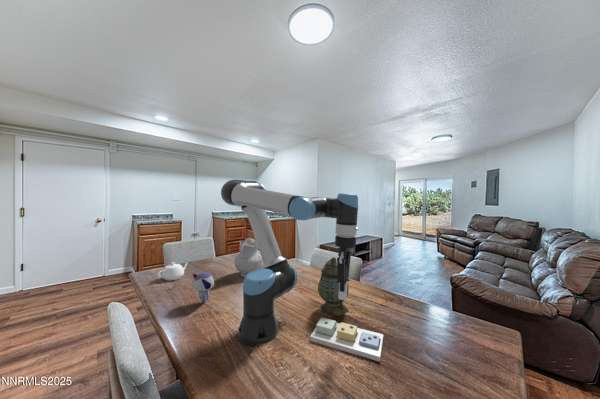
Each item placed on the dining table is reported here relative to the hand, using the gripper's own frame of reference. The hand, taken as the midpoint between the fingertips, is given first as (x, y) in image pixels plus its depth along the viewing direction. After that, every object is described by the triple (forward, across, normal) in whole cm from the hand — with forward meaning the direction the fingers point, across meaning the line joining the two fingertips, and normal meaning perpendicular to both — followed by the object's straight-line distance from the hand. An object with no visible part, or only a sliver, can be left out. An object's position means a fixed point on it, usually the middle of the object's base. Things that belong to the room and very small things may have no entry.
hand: (342, 298), depth 83 cm
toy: (+18, -1, +68) cm, 71 cm away
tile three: (+14, 0, -11) cm, 18 cm away
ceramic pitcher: (+19, +41, +73) cm, 86 cm away
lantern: (+16, +20, +8) cm, 27 cm away
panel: (+15, 0, -3) cm, 16 cm away
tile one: (+13, 0, +5) cm, 14 cm away
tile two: (+13, 0, -3) cm, 13 cm away
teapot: (+20, +16, +112) cm, 115 cm away
